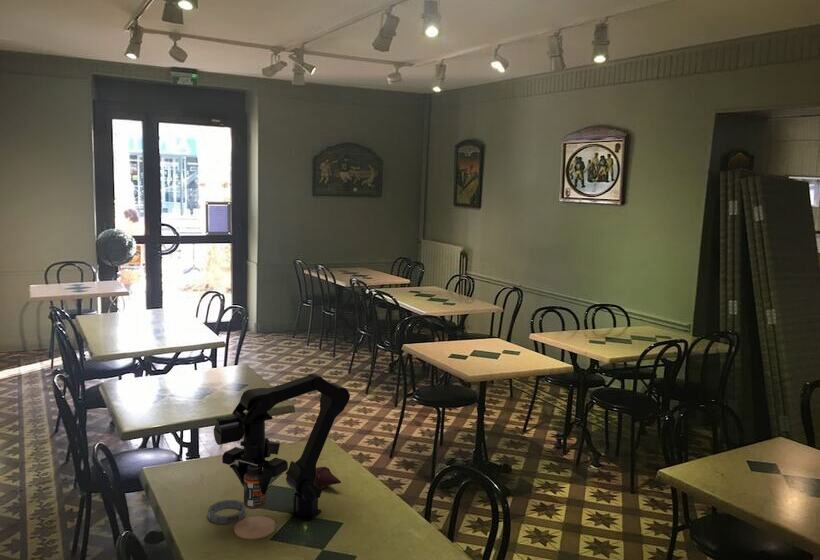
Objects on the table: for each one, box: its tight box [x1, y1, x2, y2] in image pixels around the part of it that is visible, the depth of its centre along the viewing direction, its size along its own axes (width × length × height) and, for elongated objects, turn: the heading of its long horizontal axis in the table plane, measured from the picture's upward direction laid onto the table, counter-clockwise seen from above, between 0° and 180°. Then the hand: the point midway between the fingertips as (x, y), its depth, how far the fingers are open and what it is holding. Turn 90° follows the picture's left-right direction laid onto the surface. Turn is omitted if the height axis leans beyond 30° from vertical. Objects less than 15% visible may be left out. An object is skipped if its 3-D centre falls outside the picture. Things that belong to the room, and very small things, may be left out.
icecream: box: [314, 466, 342, 490], centre depth 208 cm, size 7×7×15 cm
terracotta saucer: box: [233, 515, 276, 540], centre depth 182 cm, size 11×11×1 cm
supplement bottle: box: [243, 464, 267, 510], centre depth 180 cm, size 6×6×11 cm
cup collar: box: [207, 499, 248, 525], centre depth 189 cm, size 10×10×2 cm
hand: (255, 491), depth 181 cm, fingers closed on supplement bottle, 6 cm apart
